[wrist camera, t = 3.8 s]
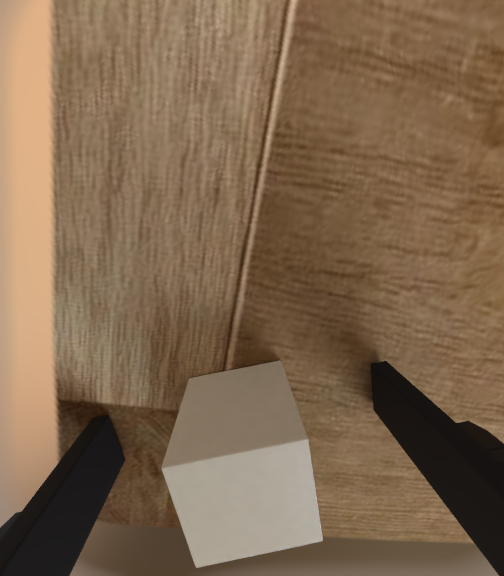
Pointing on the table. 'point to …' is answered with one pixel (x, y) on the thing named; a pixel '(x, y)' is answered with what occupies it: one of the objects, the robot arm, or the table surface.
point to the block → (241, 466)
